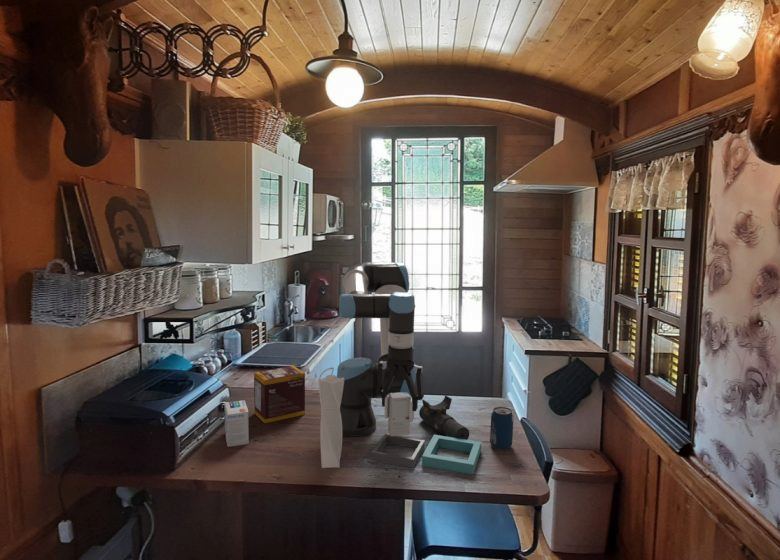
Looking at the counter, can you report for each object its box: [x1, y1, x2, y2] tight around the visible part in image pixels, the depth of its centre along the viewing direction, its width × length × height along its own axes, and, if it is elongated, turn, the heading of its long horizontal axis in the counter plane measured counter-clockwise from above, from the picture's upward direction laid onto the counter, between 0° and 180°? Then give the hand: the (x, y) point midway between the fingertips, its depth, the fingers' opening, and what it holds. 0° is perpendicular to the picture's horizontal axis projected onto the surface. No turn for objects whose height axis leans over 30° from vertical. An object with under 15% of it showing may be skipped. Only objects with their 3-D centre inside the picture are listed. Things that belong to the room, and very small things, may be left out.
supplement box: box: [253, 365, 306, 424], centre depth 186 cm, size 10×15×16 cm
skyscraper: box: [317, 367, 344, 469], centre depth 151 cm, size 8×8×28 cm
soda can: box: [489, 406, 514, 451], centre depth 164 cm, size 7×7×12 cm
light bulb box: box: [223, 399, 250, 448], centre depth 166 cm, size 11×7×11 cm, turn 22°
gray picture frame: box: [370, 433, 426, 468], centre depth 159 cm, size 13×13×2 cm
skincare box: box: [387, 392, 412, 437], centre depth 157 cm, size 6×4×12 cm
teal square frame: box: [421, 434, 482, 476], centre depth 157 cm, size 15×15×3 cm
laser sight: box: [418, 394, 470, 440], centre depth 175 cm, size 10×22×10 cm, turn 28°
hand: (399, 418), depth 157 cm, fingers closed on skincare box, 7 cm apart
